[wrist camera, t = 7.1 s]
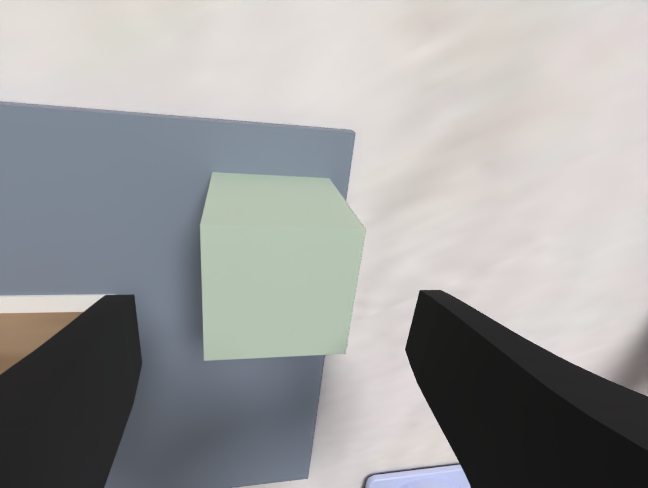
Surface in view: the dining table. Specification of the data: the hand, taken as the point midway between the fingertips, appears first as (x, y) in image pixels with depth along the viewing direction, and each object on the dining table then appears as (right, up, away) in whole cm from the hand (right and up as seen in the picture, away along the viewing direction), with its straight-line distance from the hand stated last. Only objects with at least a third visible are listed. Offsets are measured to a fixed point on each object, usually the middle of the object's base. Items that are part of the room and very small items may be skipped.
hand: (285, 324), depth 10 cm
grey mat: (-7, -2, +8) cm, 10 cm away
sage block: (-1, +3, +6) cm, 6 cm away
